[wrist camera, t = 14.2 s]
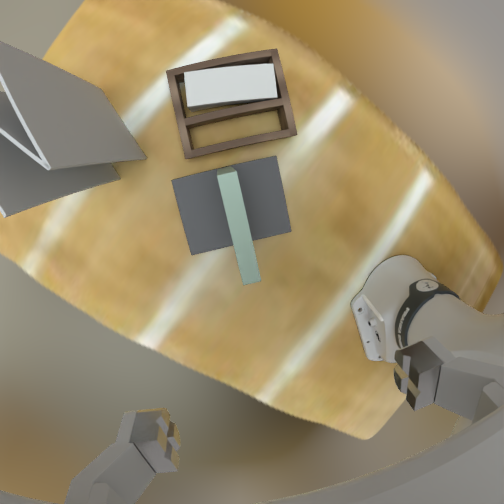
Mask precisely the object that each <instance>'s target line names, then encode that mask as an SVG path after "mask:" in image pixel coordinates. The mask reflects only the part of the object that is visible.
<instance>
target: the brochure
mask: <svg viewBox="0 0 504 504" xmlns="http://www.w3.org/2000/svg"><path fill="white" fill-rule="evenodd" d="M0 81H1V83H2V86H3V88H4V90H5V92H1V91H0V211H1V213H2V215H3V217H4V218H6V217H8V216H11V215H13V214H16V213H19V212H21V211H24V210H27V209H29V208H32V207H35V206H38V205H41V204H43V203H46V202H49V201H52V200H55V199H58V198H61V197H64V196H67V195H70V194H73V193H76V192H79V191H83V190H86V189H89V188H92V187H96V186H99V185H102V184H106V183H109V182H113V181H116V180H120V179H121V178H120V177H119V175H118V174H117V172H116V171H115V169H114V168H113V166H112V165H111V162H121V161H132V160H145V159H147V157H146V156H145V154H144V153H143V151H142V150H141V148H140V147H139V145H138V144H137V142H136V141H135V139H134V138H133V136H132V135H131V133H130V132H129V130H128V129H127V127H126V126H125V124H124V123H123V121H122V120H121V118H120V117H119V115H118V114H117V112H116V111H115V109H114V108H113V106H112V105H111V103H110V102H109V100H108V98H107V97H106V95H105V94H104V92H103V91H102V89H100V88H98V87H96V86H95V85H93V84H91V83H89V82H87V81H85V80H83V79H81V78H79V77H77V76H75V75H73V74H71V73H69V72H67V71H65V70H63V69H60V68H58V67H56V66H54V65H52V64H50V63H48V62H46V61H44V60H42V59H39V58H37V57H35V56H33V55H31V54H29V53H26V52H24V51H22V50H19V49H17V48H15V47H13V46H11V45H8V44H6V43H4V42H1V41H0Z"/></svg>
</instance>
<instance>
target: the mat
mask: <svg viewBox="0 0 504 504" xmlns="http://www.w3.org/2000/svg"><path fill="white" fill-rule="evenodd" d="M226 167H229V166H226ZM231 167H233V168H234V169H235V170H236V171H237V175H238V179H239V184H240V188H241V193H242V197H243V202H244V206H245V210H246V215H247V219H248V224H249V228H250V233H251V237H252V241H254V240H258V239H262V238H266V237H270V236H275V235H279V234H283V233H288V232H291V227H290V221H289V216H288V211H287V206H286V201H285V196H284V191H283V186H282V181H281V176H280V171H279V166H278V162H277V157H276V156H272V157H267V158H263V159H258V160H253V161H249V162H244V163H240V164H235V165H231ZM222 168H224V167H222ZM218 169H220V168H218ZM218 169H214V170H210V171H206V172H202V173H198V174H194V175H190V176H186V177H182V178H178V179H175V180H172V184H173V188H174V192H175V196H176V200H177V204H178V208H179V211H180V215H181V219H182V223H183V226H184V230H185V234H186V237H187V241H188V244H189V248H190V252H191V255H195V254H199V253H203V252H207V251H212V250H216V249H220V248H224V247H228V246H233V241H232V237H231V233H230V229H229V224H228V220H227V216H226V212H225V208H224V204H223V199H222V195H221V191H220V187H219V182H218V178H217V170H218Z"/></svg>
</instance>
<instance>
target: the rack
mask: <svg viewBox="0 0 504 504" xmlns="http://www.w3.org/2000/svg"><path fill="white" fill-rule="evenodd" d="M266 63H267V64H273V65H274V73H275V81H276V89H277V98H276V99H274V100H268V101H262V102H257V103H251V104H246V105H241V106H236V107H231V108H227V109H222V110H218V111H213V112H209V113H205V114H201V115H196V116H192V117H189V118H186V114H185V109H184V105H183V100H182V96H181V91H180V86H179V83H180V82H184V78H185V77H184V72H190V71H197V70H204V69H212V68H221V67H231V66H242V65H256V64H266ZM166 73H167V78H168V83H169V88H170V92H171V97H172V101H173V106H174V111H175V115H176V120H177V124H178V128H179V133H180V137H181V142H182V146H183V150H184V154H185V159H190V158H194V157H198V156H202V155H206V154H210V153H214V152H218V151H223V150H227V149H231V148H236V147H240V146H245V145H250V144H255V143H259V142H264V141H269V140H275V139H280V138H285V137H291V136H295V135H297V131H296V126H295V121H294V117H293V112H292V108H291V104H290V99H289V95H288V91H287V87H286V82H285V78H284V74H283V70H282V66H281V62H280V58H279V54H278V50H277V49H270V50H263V51H256V52H250V53H244V54H238V55H233V56H227V57H222V58H217V59H212V60H208V61H203V62H199V63H195V64H191V65H186V66H183V67H179V68H175V69H171V70H167V71H166ZM273 110H277V111H278V116H279V120H280V125H281V129H282V130H281V131H276V132H270V133H265V134H260V135H255V136H250V137H246V138H241V139H236V140H232V141H227V142H223V143H219V144H214V145H210V146H206V147H202V148H198V149H193V144H192V140H191V136H190V131H189V128H193V127H197V126H201V125H205V124H209V123H214V122H218V121H222V120H227V119H232V118H236V117H241V116H246V115H251V114H256V113H262V112H267V111H273Z"/></svg>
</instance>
